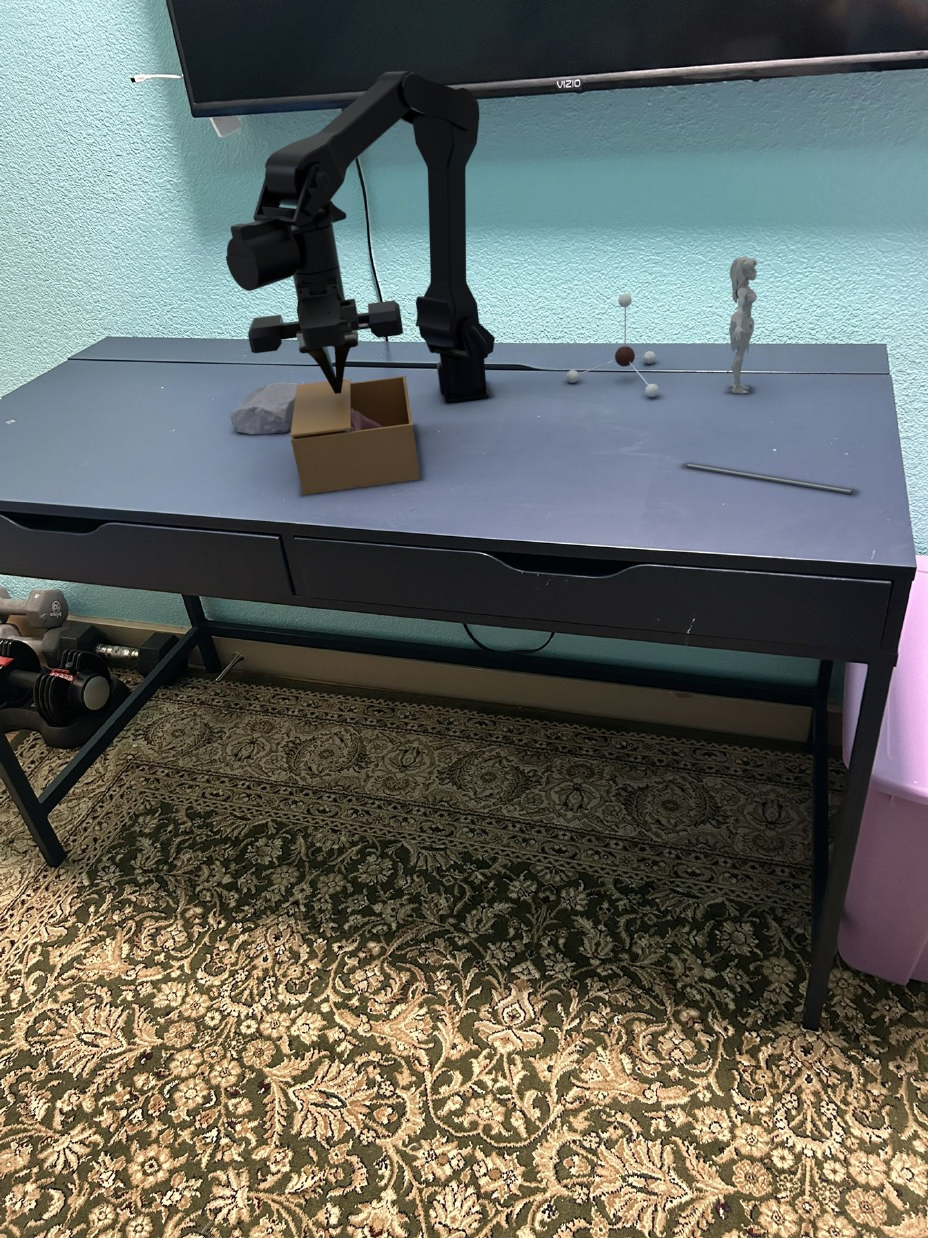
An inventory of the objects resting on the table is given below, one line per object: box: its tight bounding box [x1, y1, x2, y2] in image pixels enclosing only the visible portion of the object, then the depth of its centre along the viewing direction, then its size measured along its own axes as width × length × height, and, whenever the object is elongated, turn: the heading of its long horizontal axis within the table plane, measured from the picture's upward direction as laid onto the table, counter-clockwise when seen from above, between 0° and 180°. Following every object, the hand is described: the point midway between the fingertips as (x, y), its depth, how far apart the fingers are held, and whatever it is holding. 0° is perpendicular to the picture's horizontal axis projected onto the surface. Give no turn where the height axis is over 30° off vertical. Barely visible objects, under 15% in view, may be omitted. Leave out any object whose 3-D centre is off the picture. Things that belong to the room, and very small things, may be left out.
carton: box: [290, 375, 421, 496], centre depth 117 cm, size 17×15×7 cm
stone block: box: [229, 381, 302, 436], centre depth 133 cm, size 12×5×10 cm
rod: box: [686, 462, 853, 496], centre depth 105 cm, size 1×19×1 cm, turn 58°
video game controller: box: [340, 409, 382, 433], centre depth 118 cm, size 10×5×7 cm, turn 6°
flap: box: [290, 378, 352, 438], centre depth 115 cm, size 17×7×1 cm, turn 6°
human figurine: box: [728, 255, 758, 394], centre depth 121 cm, size 12×4×18 cm, turn 163°
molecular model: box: [565, 293, 660, 398], centre depth 128 cm, size 13×15×13 cm
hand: (338, 392), depth 116 cm, fingers closed
